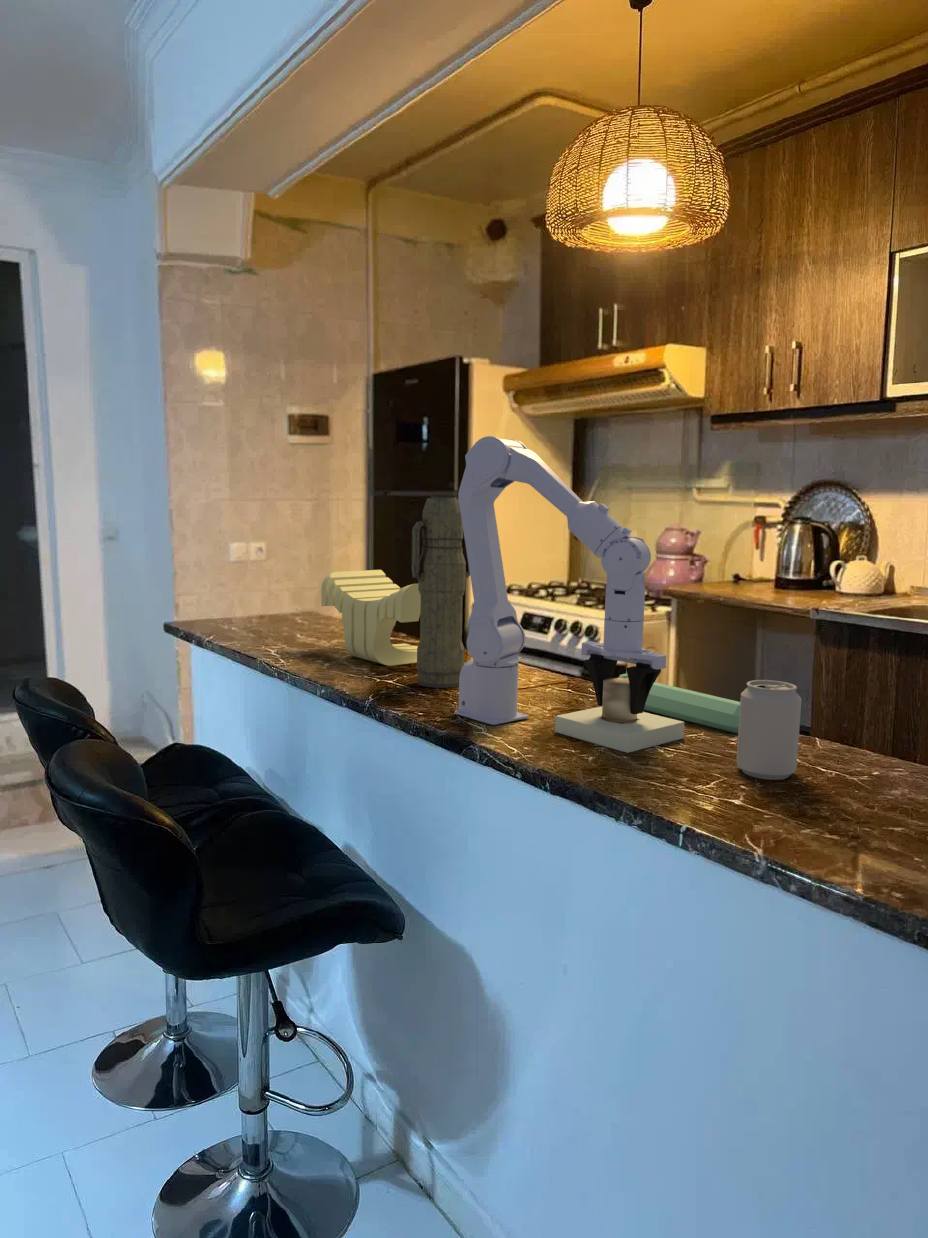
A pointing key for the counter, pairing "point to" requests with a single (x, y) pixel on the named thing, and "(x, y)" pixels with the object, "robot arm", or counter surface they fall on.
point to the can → (769, 729)
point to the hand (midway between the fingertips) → (619, 709)
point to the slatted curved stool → (372, 613)
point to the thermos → (440, 591)
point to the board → (619, 730)
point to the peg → (617, 701)
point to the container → (693, 706)
